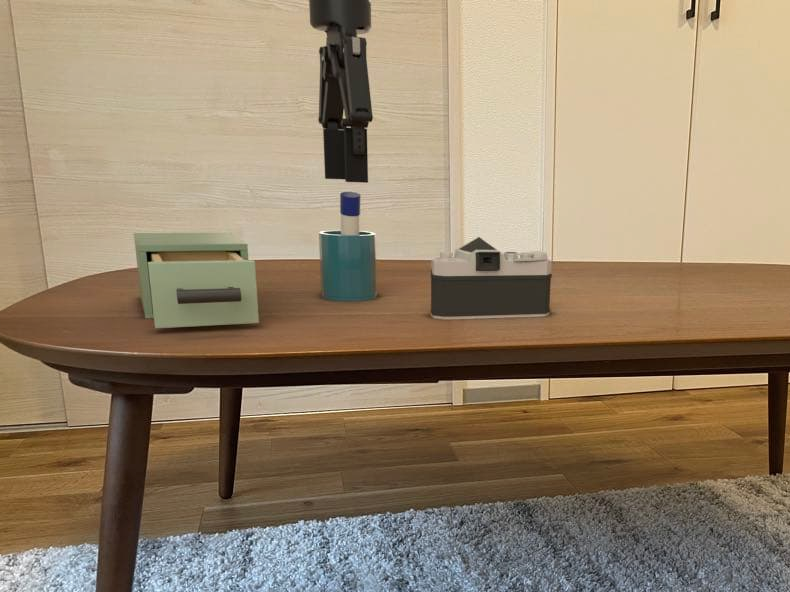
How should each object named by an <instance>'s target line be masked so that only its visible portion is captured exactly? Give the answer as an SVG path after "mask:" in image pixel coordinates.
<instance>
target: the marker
mask: <svg viewBox="0 0 790 592" xmlns="http://www.w3.org/2000/svg"><path fill="white" fill-rule="evenodd" d="M339 195H340V196H339V198H340V199H339V205H340V206H339V212H340V231H341V235H359V231H360V228H361V227H360V226H361V224H360V222H361V220H360V219H361V217H360V216H361V211H362V210H361V205H362V202H361V201H362V195H361V194H360V193H358V192H356V191H355V192H354V191H343V192H340V194H339Z"/></svg>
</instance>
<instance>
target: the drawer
mask: <svg viewBox="0 0 790 592" xmlns="http://www.w3.org/2000/svg"><path fill="white" fill-rule="evenodd" d="M150 255H151V262H148V270H149V279H150V288H151V298H152V307H153V316H154V318H153V323H154V324H153V326H154V329H173V328H192V327H209V326H210V327H211V326H212V327H213V326H227V325H228V326H229V325H230V326H231V325H248V324H249V325H250V324H251V325H252V324H259V323H260V316H259V315H260V314H259V301H258V285H257V283H258V282H257V269H256V261H255V260H254V259H248V260H244V259H242V258H241V257H240V256H239V255H238V254H236V253H235V252H234V251H166V252H150Z"/></svg>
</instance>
